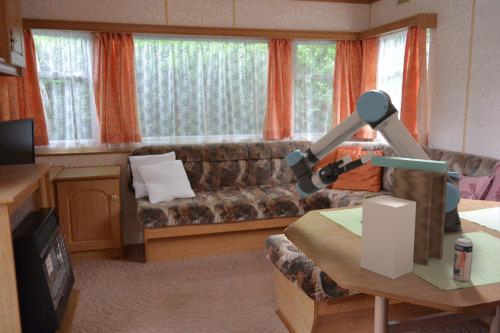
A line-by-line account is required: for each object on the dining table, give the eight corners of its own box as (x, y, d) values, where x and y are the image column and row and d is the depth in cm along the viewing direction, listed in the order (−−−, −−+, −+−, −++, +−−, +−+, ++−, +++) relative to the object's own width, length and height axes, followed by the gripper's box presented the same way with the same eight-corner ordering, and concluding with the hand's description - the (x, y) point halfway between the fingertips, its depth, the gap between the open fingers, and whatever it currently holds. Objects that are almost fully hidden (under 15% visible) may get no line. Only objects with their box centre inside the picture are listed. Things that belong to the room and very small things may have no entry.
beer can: (449, 276, 131) (451, 237, 129) (464, 275, 132) (467, 237, 130) (458, 282, 127) (460, 243, 125) (474, 282, 127) (476, 242, 125)
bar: (370, 165, 150) (371, 156, 150) (375, 163, 153) (375, 155, 153) (443, 172, 135) (443, 163, 134) (446, 171, 137) (447, 161, 137)
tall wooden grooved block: (390, 254, 149) (393, 168, 144) (407, 248, 155) (411, 164, 150) (425, 266, 139) (430, 173, 134) (442, 259, 145) (447, 169, 140)
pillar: (360, 266, 139) (362, 199, 136) (380, 259, 145) (382, 194, 141) (393, 279, 130) (396, 207, 126) (412, 270, 136) (416, 201, 132)
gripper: (349, 181, 183) (387, 161, 167) (306, 189, 169) (343, 168, 152) (342, 164, 185) (380, 143, 169) (299, 171, 171) (335, 149, 154)
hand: (362, 155), depth 161 cm, fingers open, 13 cm apart
